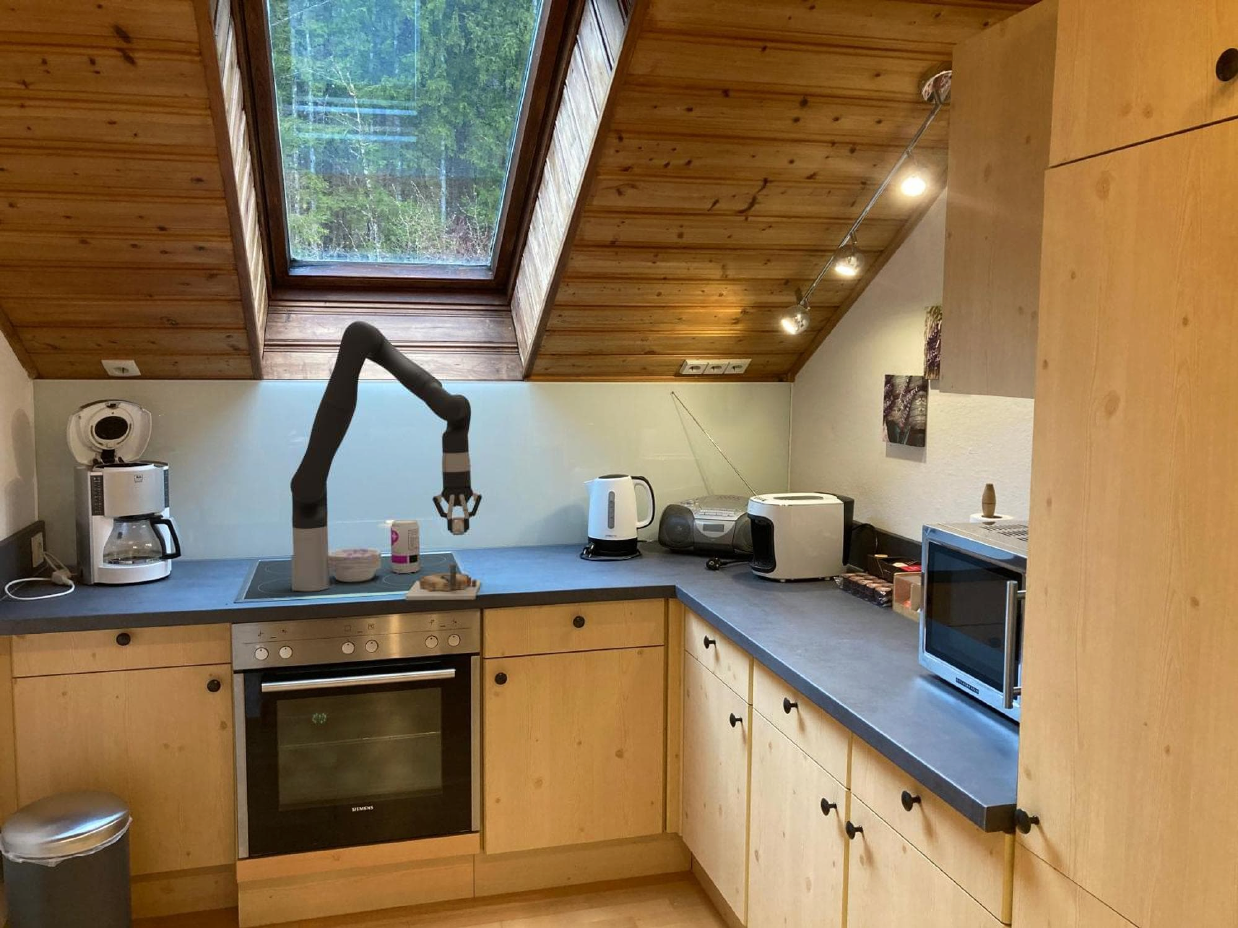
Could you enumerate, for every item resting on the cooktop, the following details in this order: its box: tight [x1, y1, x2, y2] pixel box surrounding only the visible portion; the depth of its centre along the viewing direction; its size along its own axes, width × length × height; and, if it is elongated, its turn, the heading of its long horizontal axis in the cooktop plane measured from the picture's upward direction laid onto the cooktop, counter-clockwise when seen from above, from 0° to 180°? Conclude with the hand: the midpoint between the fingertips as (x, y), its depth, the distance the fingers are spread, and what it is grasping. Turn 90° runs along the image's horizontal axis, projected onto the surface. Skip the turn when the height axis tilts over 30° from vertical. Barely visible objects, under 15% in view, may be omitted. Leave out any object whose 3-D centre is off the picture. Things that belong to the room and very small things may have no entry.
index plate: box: [404, 578, 482, 601], centre depth 278 cm, size 18×19×3 cm
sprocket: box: [418, 564, 472, 591], centre depth 279 cm, size 14×16×7 cm
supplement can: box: [390, 519, 421, 574], centre depth 304 cm, size 8×8×15 cm
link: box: [451, 516, 466, 536], centre depth 278 cm, size 3×6×4 cm, turn 7°
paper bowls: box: [328, 548, 382, 583], centre depth 294 cm, size 15×15×8 cm
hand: (458, 531), depth 279 cm, fingers closed on link, 3 cm apart
